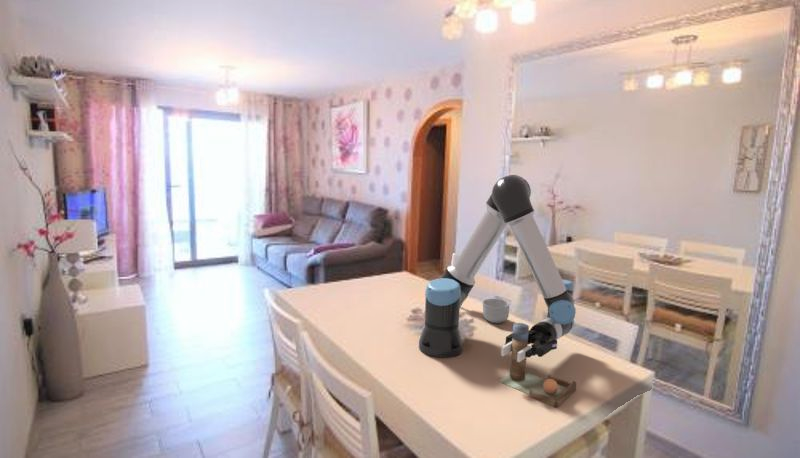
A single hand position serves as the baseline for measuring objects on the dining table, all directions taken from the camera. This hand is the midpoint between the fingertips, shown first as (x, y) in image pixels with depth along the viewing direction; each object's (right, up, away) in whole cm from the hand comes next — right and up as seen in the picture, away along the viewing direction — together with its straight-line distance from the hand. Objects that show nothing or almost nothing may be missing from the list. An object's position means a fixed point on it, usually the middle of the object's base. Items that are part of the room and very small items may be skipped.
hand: (510, 354), depth 120 cm
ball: (+11, -8, -3) cm, 14 cm away
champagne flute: (-7, +1, +69) cm, 70 cm away
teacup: (+8, -2, +54) cm, 55 cm away
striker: (+3, -8, +5) cm, 10 cm away
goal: (+8, -10, +1) cm, 12 cm away
